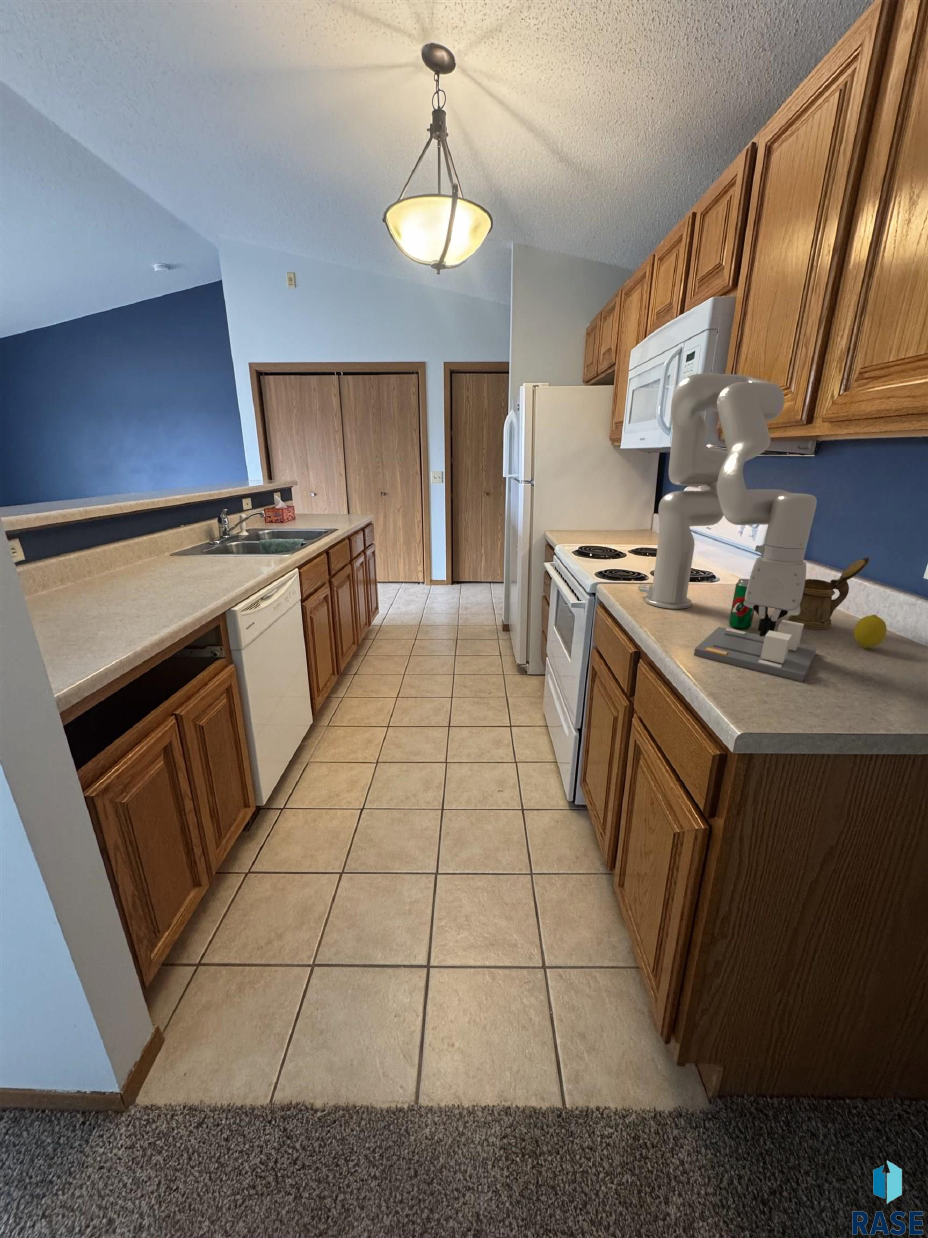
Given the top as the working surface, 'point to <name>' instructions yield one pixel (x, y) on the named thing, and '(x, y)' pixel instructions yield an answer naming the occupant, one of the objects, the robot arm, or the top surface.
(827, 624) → the wooden mug
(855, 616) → the top surface
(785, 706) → the top surface
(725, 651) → the switch panel
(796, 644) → the back slider
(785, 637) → the front slider
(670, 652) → the top surface
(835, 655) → the top surface
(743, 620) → the soda can
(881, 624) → the lemon
